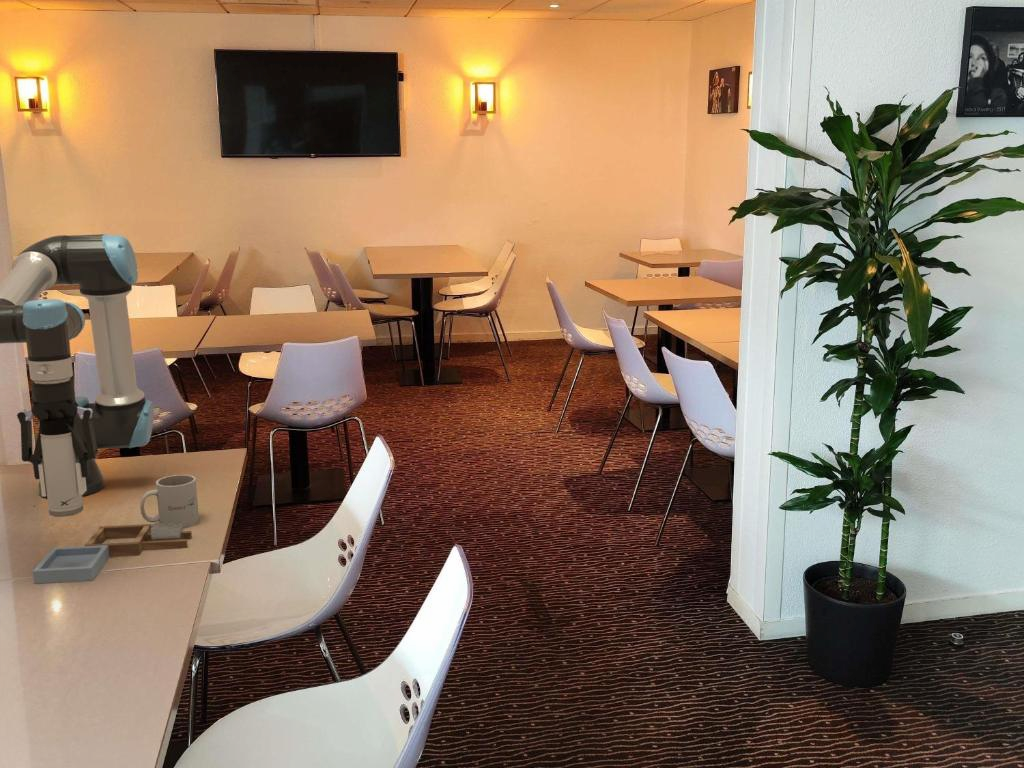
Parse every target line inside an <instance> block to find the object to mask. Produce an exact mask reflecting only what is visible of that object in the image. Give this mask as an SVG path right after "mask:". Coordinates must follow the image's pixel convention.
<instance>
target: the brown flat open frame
mask: <svg viewBox="0 0 1024 768" xmlns="http://www.w3.org/2000/svg"><path fill="white" fill-rule="evenodd" d="M151 528H152V524H151V523H148V524H145V523H143V524H127V525H126V524H124V525H120V524H119V525H106V526H105V525H103V526H101V525H100V526H99V527H98V528H97V530H96V531H95V532H94V533H93V535H92V536H91V537H90V538H89V540H88V541H87V542H86V544H85V545H84V546H102V545H108V547H109V558H111V557H129V556H139V555H140V554H141V552H142V551H148V550H149V551H151V550H165V549H167V550H169V549H170V550H171V549H186V548H187V547H188V540H191V539H192V538H193V536H192V535H193V534H192V530H183V537H184V539H179V540H159V541H152V540H151ZM126 538H127V539H128V538H131V539H132V538H135V539H134V541H131V542H130V541H127V542H110V543H103V542H104V541H105V540H110V539H112V540H113V539H126Z"/></svg>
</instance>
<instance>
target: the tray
mask: <svg viewBox="0 0 1024 768" xmlns="http://www.w3.org/2000/svg"><path fill="white" fill-rule="evenodd" d="M109 558H110V557H109V547H108V545H102V546H85V545H84V546H67V547H64V546H63V547H52V548H51V550H50V551H49V552H48V553H47V554H46V555H45V557H44V558H43V559H42V560H41V561H40V562H39V563H38V565H37V566H35V568H34V569H33V570H32V579H33V584H37V585H38V584H51V583H52V584H53V583H55V584H56V583H70V582H71V583H72V582H89V581H94V579H95V578H96V576H97V575H99V572H100V571H101V569H102V568H103V567H104V566H105V564H106V563H107V561H108V560H109Z"/></svg>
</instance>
